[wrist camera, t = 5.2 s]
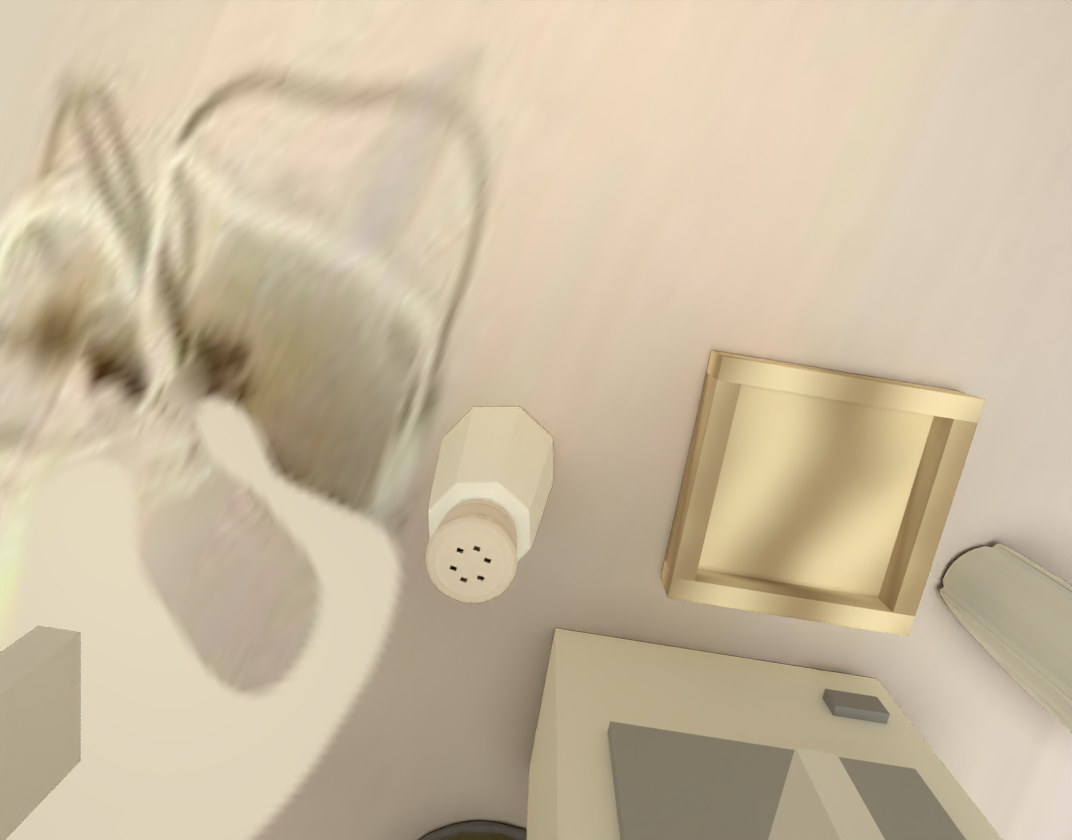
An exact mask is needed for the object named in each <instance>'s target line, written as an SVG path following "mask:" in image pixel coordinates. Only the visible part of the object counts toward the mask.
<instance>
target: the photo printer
mask: <svg viewBox="0 0 1072 840" xmlns="http://www.w3.org/2000/svg"><path fill="white" fill-rule="evenodd" d="M943 586H944V587H943V588H942V589H940V594H941V596H942V598H943V599H944V601H945V603H946V604H947V606H948V607H949V608H950V610H951V611H952V613H953V614H954V615H955V617H956V618H957V619H958V620H959V621H960V622H961V623H962V625H963V626H964V627H965V628H966V629H967V630H968V631H969V632H970V633H971V635H972V636H973V637H974V638H975V639H976V640H977V641H978V642H979V643H980V644H981V645H982V646H983V647H984V648H985V650H986V651H987V652H988V653H989V654H990V655H991V656H992V657H993V658H994V659H995V660H996V661H997V662H998V663H999V664H1000V665H1001V666H1002V667H1003V668H1004V669H1005V670H1006V671H1007V672H1008V673H1009V674H1010V675H1011V676H1012V677H1013V679H1014V680H1015V681H1016V682H1017V683H1019V684H1020V685H1021V686H1022V687H1023V688H1024V689H1025V690H1026V691H1027V692H1028V693H1029V694H1030V695H1031V696H1032V697H1033V698H1034V699H1035V700H1036V701H1037V702H1038V703H1039V704H1040V705H1041V706H1042V707H1043V708H1044V709H1045V710H1046V711H1047V712H1048V713H1050V714H1051V715H1052V716H1054V717H1055V718H1056V719H1057V720H1058V721H1059V722H1060V723H1062V724H1063V725H1064V726H1065V727H1066V728H1067V729H1068V730H1069V731H1070V732H1071V733H1072V586H1071V585H1070V584H1068V583H1066V582H1065V581H1063V580H1062V579H1060V578H1058V577H1057V576H1055V575H1053V574H1052V573H1050V572H1049V571H1047V570H1045V569H1044V568H1042V567H1040V566H1039V565H1037V564H1036V563H1034V562H1032V561H1031V560H1029V559H1027V558H1026V557H1024V556H1023V555H1021V554H1019V553H1017V552H1016V551H1014V550H1012V549H1010V548H1008V547H1006V546H1004V545H1001V544H996V545H995V546H994V547H987V546H984V547H979V548H976V549H973V550H971V551H968V552H967V553H965V554H963V555H962V556H960V557H959V558H958V559H957V560H956V561H955V562H953V564H952V565H951V566H950V567H949V569H948V570H947V572H946V574H945V576H944V579H943Z"/></svg>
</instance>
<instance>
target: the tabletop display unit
mask: <svg viewBox="0 0 1072 840" xmlns="http://www.w3.org/2000/svg"><path fill="white" fill-rule="evenodd" d="M795 748H801V749H807V750H813V751H820V752H826V753H832V754H837V756H838V757H839V759H840V761H841V763H842V764H843V766H844V768H845V770H846V771H847V773H848V775H849V777H850V779H851V780H852V782H853V784H854V786H855V787H856V789H857V791H858V793H859V794H860V796H861V798H862V800H863V802H864V803H865V805H866V807H867V809H868V810H869V812H870V814H871V816H872V817H873V819H874V821H875V823H876V825H877V826H878V828H879V830H880V832H881V833H882V835H883V837H884V839H885V840H1003V839H1002V838H1001V837H1000V836H999V834H998V833H997V832H996V831H995V829H994V828H993V827H992V825H991V824H990V823H989V822H988V820H987V819H986V818H985V816H984V815H983V814H982V813H981V811H980V810H979V809H978V808H977V806H976V805H975V804H974V802H973V801H972V800H971V799H970V797H969V796H968V795H967V793H966V792H965V791H964V790H963V788H962V787H961V786H960V784H959V783H958V782H957V781H956V779H955V778H954V777H953V776H952V774H951V773H950V772H949V770H948V769H947V768H946V767H945V765H944V764H943V763H942V761H941V760H940V759H939V758H938V756H937V755H936V754H935V753H934V751H933V750H932V749H931V747H930V746H929V745H928V744H927V742H926V741H925V740H924V738H923V737H922V736H921V735H920V733H919V732H918V731H917V729H916V728H915V727H914V726H913V724H912V723H911V722H910V721H909V719H908V718H907V717H906V715H905V714H904V713H903V712H902V710H901V709H900V708H899V706H898V705H897V704H896V703H895V701H894V700H893V699H892V697H891V696H890V695H889V694H888V692H887V691H886V690H885V689H884V687H883V686H882V685H881V683H880V682H879V681H878V680H877V679H874V678H868V677H862V676H855V675H849V674H843V673H836V672H830V671H824V670H817V669H811V668H805V667H798V666H792V665H786V664H779V663H773V662H767V661H760V660H754V659H748V658H741V657H735V656H729V655H722V654H716V653H710V652H703V651H697V650H691V649H684V648H678V647H672V646H665V645H659V644H653V643H646V642H640V641H634V640H627V639H621V638H615V637H608V636H602V635H596V634H589V633H583V632H577V631H570V630H564V629H558V628H555V633H554V638H553V644H552V649H551V654H550V660H549V665H548V670H547V676H546V681H545V686H544V692H543V697H542V702H541V708H540V713H539V718H538V724H537V729H536V734H535V740H534V745H533V750H532V756H531V761H530V767H529V790H528V813H527V837H526V840H768V839H769V835H770V832H771V828H772V825H773V822H774V818H775V815H776V812H777V808H778V805H779V801H780V798H781V795H782V791H783V788H784V785H785V781H786V778H787V774H788V771H789V768H790V764H791V761H792V757H793V754H794V751H795Z"/></svg>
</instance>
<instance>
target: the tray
mask: <svg viewBox="0 0 1072 840" xmlns="http://www.w3.org/2000/svg"><path fill="white" fill-rule="evenodd" d="M984 402H985V399H981V398H978V397H975V396H972V395H969V394H966V393H963V392H959V391H956V390H950V389H944V388H938V387H932V386H925V385H919V384H913V383H907V382H901V381H895V380H889V379H883V378H877V377H871V376H865V375H859V374H853V373H847V372H841V371H835V370H828V369H822V368H816V367H810V366H804V365H798V364H792V363H786V362H780V361H774V360H768V359H762V358H756V357H750V356H744V355H738V354H731V353H725V352H719V351H713V350H712V351H711V355H710V360H709V364H708V369H707V373H706V377H705V382H704V386H703V391H702V395H701V400H700V404H699V409H698V413H697V418H696V422H695V427H694V431H693V436H692V440H691V445H690V449H689V454H688V458H687V463H686V467H685V472H684V476H683V480H682V485H681V489H680V494H679V498H678V503H677V507H676V512H675V516H674V521H673V525H672V530H671V534H670V539H669V543H668V548H667V552H666V557H665V561H664V566H663V570H662V575H661V579H662V582H663V585H664V588H665V591H666V594H667V597H668V598H671V599H678V600H684V601H690V602H696V603H703V604H709V605H715V606H722V607H728V608H734V609H740V610H747V611H753V612H759V613H766V614H772V615H778V616H785V617H791V618H797V619H803V620H810V621H816V622H822V623H829V624H835V625H841V626H847V627H854V628H860V629H866V630H873V631H879V632H885V633H892V634H898V635H904V636H909V633H910V630H911V627H912V624H913V621H914V618H915V615H916V612H917V609H918V606H919V602H920V599H921V596H922V593H923V590H924V587H925V584H926V581H927V578H928V575H929V572H930V569H931V565H932V562H933V559H934V556H935V553H936V550H937V547H938V544H939V541H940V538H941V535H942V531H943V528H944V525H945V522H946V519H947V516H948V513H949V510H950V507H951V504H952V501H953V497H954V494H955V491H956V488H957V485H958V482H959V479H960V476H961V473H962V470H963V467H964V464H965V460H966V457H967V454H968V451H969V448H970V445H971V442H972V439H973V436H974V433H975V430H976V426H977V423H978V420H979V417H980V414H981V411H982V408H983V405H984Z"/></svg>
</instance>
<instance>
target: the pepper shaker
mask: <svg viewBox="0 0 1072 840" xmlns="http://www.w3.org/2000/svg"><path fill="white" fill-rule="evenodd" d="M552 484H553V438H552V437H551V436H550V435H549V434H548V433H547V432H546V431H545V430H544V429H543V428H542V427H541V426H540V425H539V424H538V423H536V422H535V421H534V420H533V419H532V418H531V417H530V416H529V415H528V414H527V413H526V412H525V411H524V410H523V409H522V408H521V407H473V408H472V409H471V410H470V411H469V412H468V413H467V414H466V415H465V416H464V417H463V418H462V419H461V420H460V421H459V422H458V423H457V425H456V426H455V427H454V428H453V429H452V430H451V431H450V432H449V433H448V434H447V435H446V436H445V437H444V438H443V439H442V443H441V448H440V453H439V457H438V462H437V467H436V472H435V476H434V481H433V486H432V491H431V495H430V500H429V509H428V522H429V539H430V541H429V543H428V545H427V550H426V554H425V561H426V569H427V572H428V574H429V577H430V579H431V580H432V582H433V583H434V585H435V586H436V587H437V588H438V589H439V590H440V591H441V592H442V593H444V594H445V595H447V596H449V597H451V598H453V599H454V600H458V601H462V602H466V603H480V602H484V601H488V600H491V599H493V598H495V597H497V596H498V595H500V594H501V593H502V592H504V591H505V590H506V589H507V588H508V587H509V585H510V584H511V582H512V580H513V579H514V577H515V573H516V569H517V562H518V561H519V560H520V559H521V558H522V557H523V556H524V555H525V554H526V553H527V552H528V551H529V550H530V548H531V546H532V544H533V542H534V539H535V536H536V533H537V530H538V527H539V524H540V521H541V518H542V515H543V512H544V509H545V506H546V502H547V499H548V496H549V493H550V490H551V487H552Z"/></svg>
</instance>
